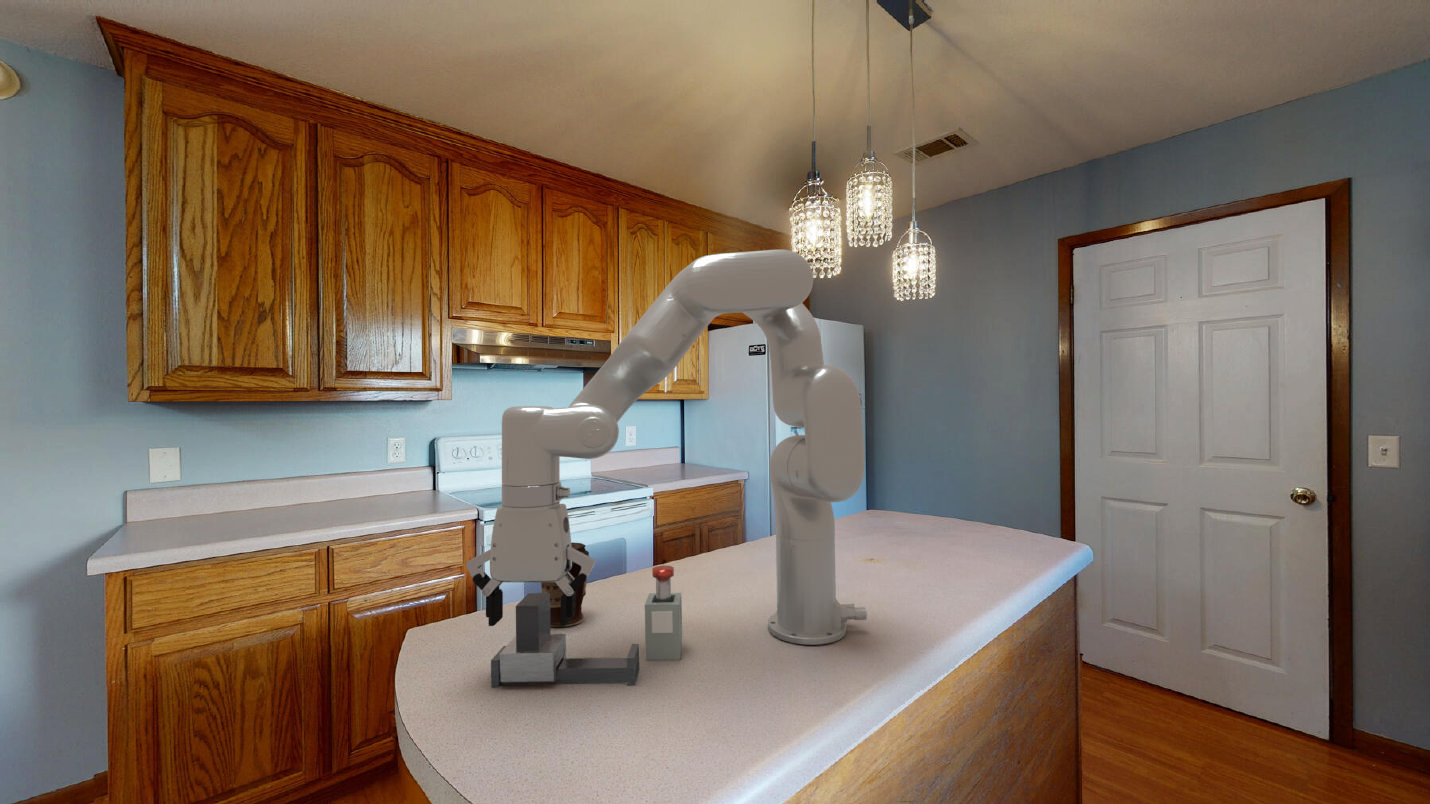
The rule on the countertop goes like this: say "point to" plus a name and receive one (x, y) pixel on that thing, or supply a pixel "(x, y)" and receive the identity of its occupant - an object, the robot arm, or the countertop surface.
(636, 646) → the rail
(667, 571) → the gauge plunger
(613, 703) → the countertop surface
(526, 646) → the carriage
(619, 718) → the countertop surface
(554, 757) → the countertop surface
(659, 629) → the grey square housing
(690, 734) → the countertop surface
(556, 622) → the coffee cup
